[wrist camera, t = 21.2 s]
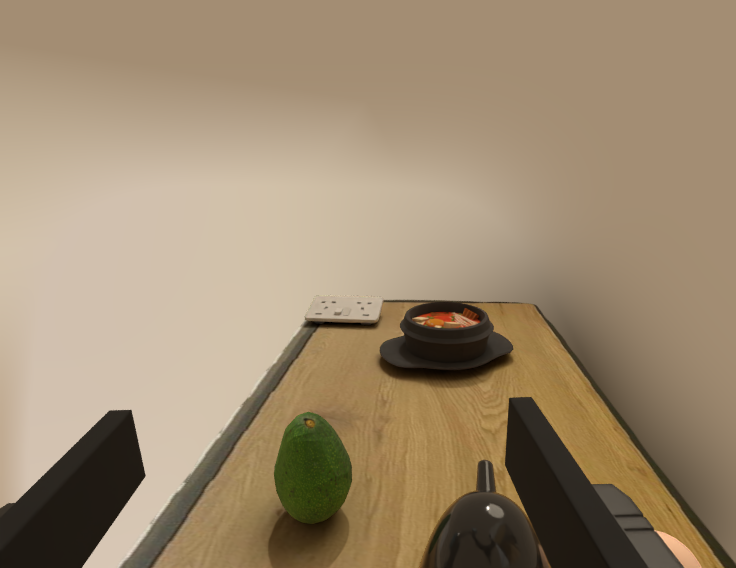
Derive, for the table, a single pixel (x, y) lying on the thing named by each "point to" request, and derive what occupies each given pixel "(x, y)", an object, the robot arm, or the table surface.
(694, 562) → the egg
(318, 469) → the avocado
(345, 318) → the wall socket
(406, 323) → the casserole
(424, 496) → the table surface
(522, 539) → the pump dispenser
